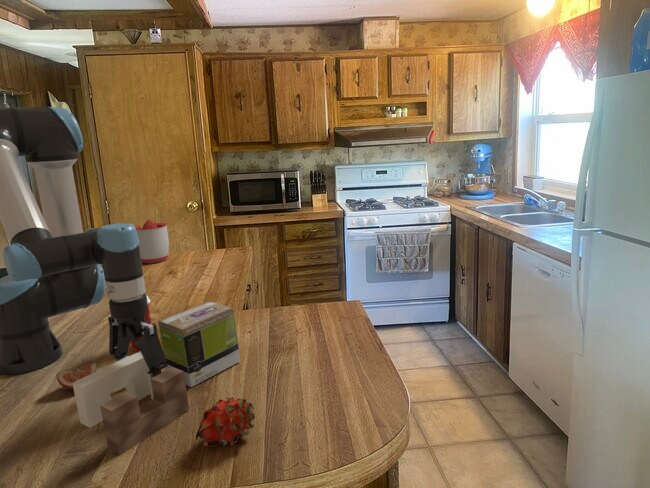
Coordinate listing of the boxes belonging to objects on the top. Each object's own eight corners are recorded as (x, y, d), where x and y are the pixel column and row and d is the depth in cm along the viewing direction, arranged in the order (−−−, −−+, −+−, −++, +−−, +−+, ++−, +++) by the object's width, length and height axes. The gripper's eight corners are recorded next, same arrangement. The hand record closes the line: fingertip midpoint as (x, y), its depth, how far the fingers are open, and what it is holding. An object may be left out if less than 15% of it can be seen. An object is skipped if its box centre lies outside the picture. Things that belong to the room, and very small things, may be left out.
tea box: (216, 352, 124) (209, 299, 120) (241, 362, 117) (235, 307, 114) (165, 376, 112) (157, 319, 109) (190, 389, 106) (182, 328, 103)
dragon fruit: (262, 433, 91) (206, 469, 85) (240, 397, 95) (184, 429, 89) (268, 416, 85) (207, 453, 79) (244, 378, 89) (184, 410, 83)
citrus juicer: (163, 254, 235) (157, 214, 231) (176, 260, 222) (171, 218, 217) (131, 260, 226) (124, 219, 221) (143, 267, 213) (137, 223, 208)
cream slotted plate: (89, 428, 94) (82, 387, 91) (80, 422, 95) (72, 382, 93) (157, 390, 106) (151, 353, 104) (147, 386, 108) (141, 350, 106)
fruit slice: (96, 375, 115) (93, 357, 114) (102, 386, 109) (98, 367, 108) (58, 387, 110) (54, 368, 109) (62, 399, 105) (57, 379, 104)
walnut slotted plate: (119, 455, 85) (111, 410, 83) (108, 449, 87) (100, 405, 85) (188, 410, 98) (183, 371, 96) (177, 405, 100) (172, 367, 98)
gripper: (81, 294, 103) (97, 385, 108) (145, 310, 91) (160, 413, 96) (112, 284, 109) (126, 371, 114) (176, 298, 97) (189, 395, 102)
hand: (142, 390), depth 105 cm, fingers open, 10 cm apart
